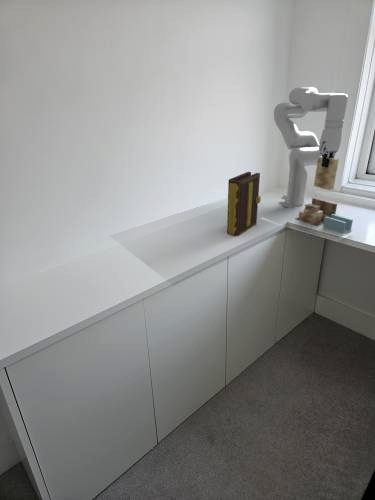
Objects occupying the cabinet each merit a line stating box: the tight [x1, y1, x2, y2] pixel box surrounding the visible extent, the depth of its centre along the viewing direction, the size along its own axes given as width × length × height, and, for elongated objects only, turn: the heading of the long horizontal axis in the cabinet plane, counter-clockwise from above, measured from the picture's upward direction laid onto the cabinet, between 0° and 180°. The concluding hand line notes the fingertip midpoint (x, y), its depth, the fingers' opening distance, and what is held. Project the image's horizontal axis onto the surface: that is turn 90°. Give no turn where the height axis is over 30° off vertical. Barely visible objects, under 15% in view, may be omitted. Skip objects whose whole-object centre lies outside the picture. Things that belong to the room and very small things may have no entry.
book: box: [226, 171, 262, 237], centre depth 151 cm, size 22×8×25 cm, turn 143°
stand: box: [322, 213, 354, 234], centre depth 149 cm, size 10×9×6 cm
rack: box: [294, 197, 338, 227], centre depth 160 cm, size 13×14×9 cm
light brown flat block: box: [313, 156, 340, 191], centre depth 154 cm, size 9×2×14 cm, turn 35°
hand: (326, 166), depth 152 cm, fingers closed on light brown flat block, 2 cm apart
